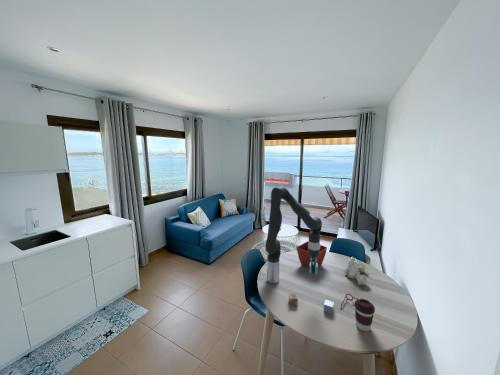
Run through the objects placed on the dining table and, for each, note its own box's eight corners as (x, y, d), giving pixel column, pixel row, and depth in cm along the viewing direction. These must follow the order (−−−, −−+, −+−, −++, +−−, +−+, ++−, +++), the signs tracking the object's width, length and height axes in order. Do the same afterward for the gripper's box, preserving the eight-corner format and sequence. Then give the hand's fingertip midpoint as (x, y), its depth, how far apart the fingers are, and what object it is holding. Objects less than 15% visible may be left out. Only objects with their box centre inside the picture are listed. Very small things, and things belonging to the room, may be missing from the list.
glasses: (367, 307, 130) (368, 300, 129) (363, 320, 120) (363, 313, 119) (345, 298, 138) (346, 291, 137) (339, 310, 128) (340, 303, 128)
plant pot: (307, 257, 193) (308, 240, 190) (326, 265, 179) (327, 247, 176) (295, 265, 180) (296, 247, 177) (315, 274, 166) (316, 254, 164)
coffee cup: (364, 336, 109) (366, 311, 107) (349, 323, 118) (350, 299, 116) (377, 329, 113) (379, 305, 110) (361, 317, 122) (362, 294, 119)
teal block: (309, 272, 136) (309, 265, 135) (309, 268, 141) (310, 262, 140) (317, 274, 134) (317, 267, 133) (317, 270, 139) (317, 263, 138)
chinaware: (370, 291, 146) (374, 270, 143) (345, 284, 152) (348, 264, 149) (364, 270, 172) (367, 252, 169) (342, 265, 178) (345, 247, 174)
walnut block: (289, 305, 133) (290, 298, 132) (289, 300, 138) (289, 293, 137) (297, 305, 133) (297, 298, 132) (296, 300, 137) (296, 293, 137)
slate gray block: (323, 311, 127) (324, 304, 126) (325, 306, 131) (325, 299, 130) (332, 314, 125) (332, 307, 124) (333, 309, 129) (333, 302, 128)
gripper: (308, 242, 142) (308, 264, 145) (307, 251, 129) (306, 275, 132) (320, 243, 140) (319, 266, 143) (319, 253, 127) (319, 277, 129)
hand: (313, 270), depth 137 cm, fingers closed on teal block, 5 cm apart
